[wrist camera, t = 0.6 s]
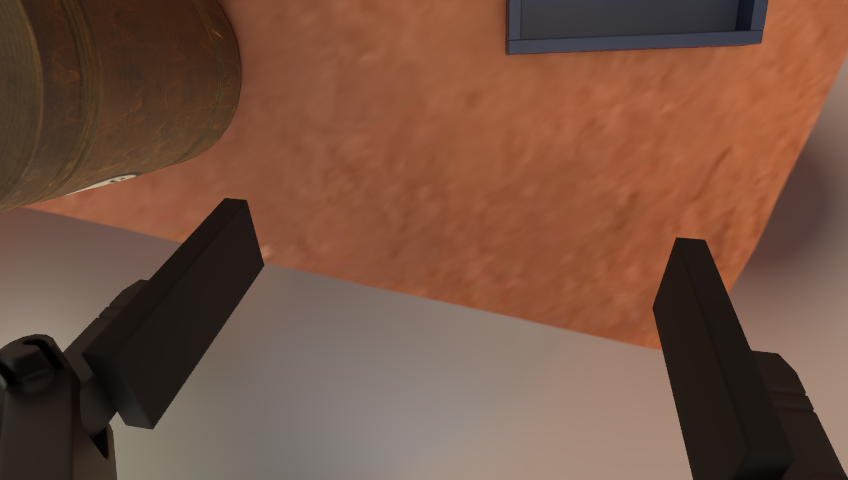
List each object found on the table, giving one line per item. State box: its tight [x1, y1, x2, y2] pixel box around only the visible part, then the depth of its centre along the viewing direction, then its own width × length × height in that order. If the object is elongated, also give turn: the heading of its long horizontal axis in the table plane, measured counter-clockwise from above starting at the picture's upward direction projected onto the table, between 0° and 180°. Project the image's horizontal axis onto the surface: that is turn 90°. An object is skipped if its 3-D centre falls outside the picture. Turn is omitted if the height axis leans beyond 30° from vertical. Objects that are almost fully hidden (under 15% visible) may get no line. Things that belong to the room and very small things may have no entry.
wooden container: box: [0, 0, 241, 213], centre depth 27 cm, size 15×15×22 cm
